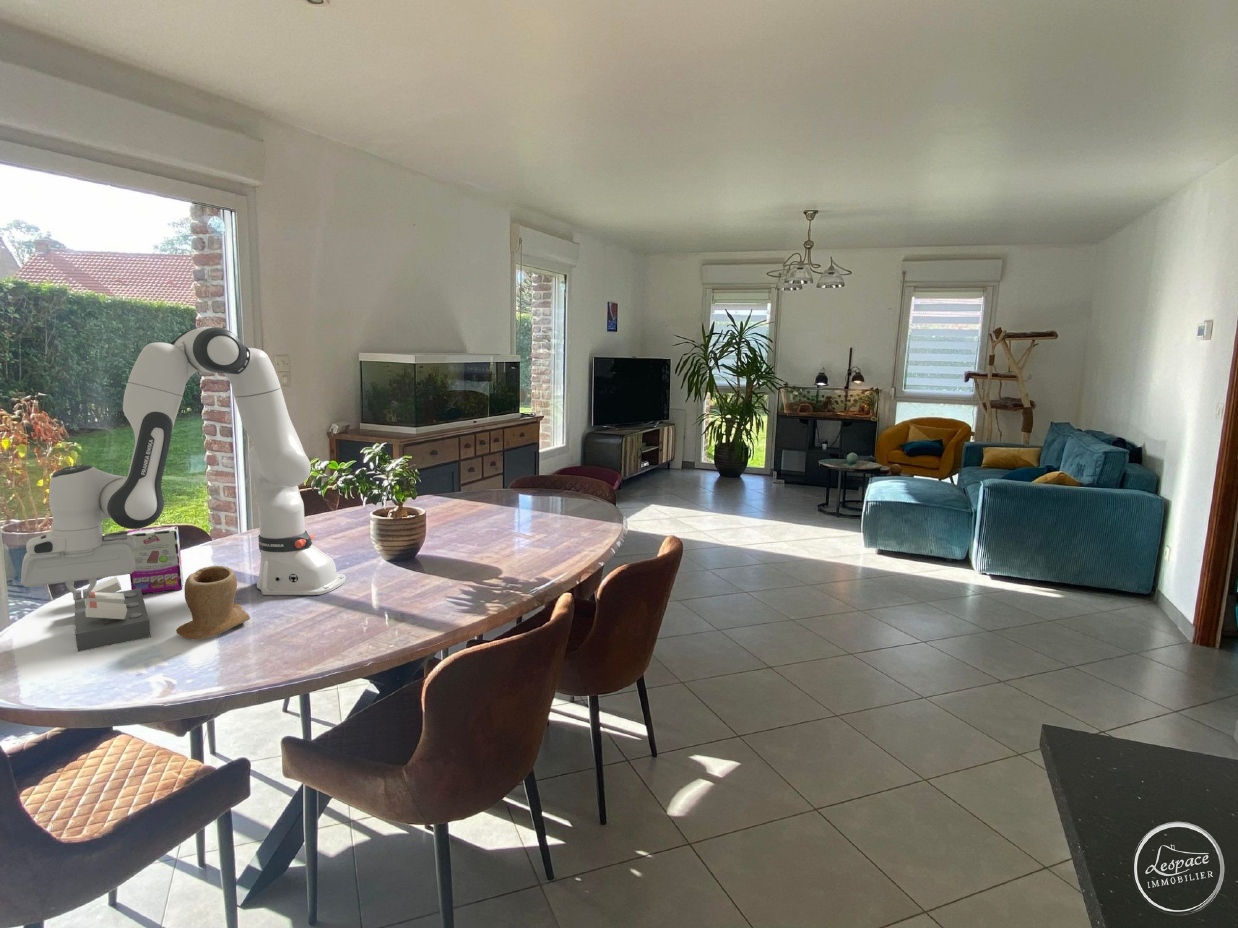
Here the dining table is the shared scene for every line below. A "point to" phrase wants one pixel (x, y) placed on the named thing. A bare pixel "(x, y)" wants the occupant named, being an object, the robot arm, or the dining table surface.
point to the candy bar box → (157, 560)
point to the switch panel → (112, 624)
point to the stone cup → (211, 603)
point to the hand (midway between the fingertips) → (82, 598)
